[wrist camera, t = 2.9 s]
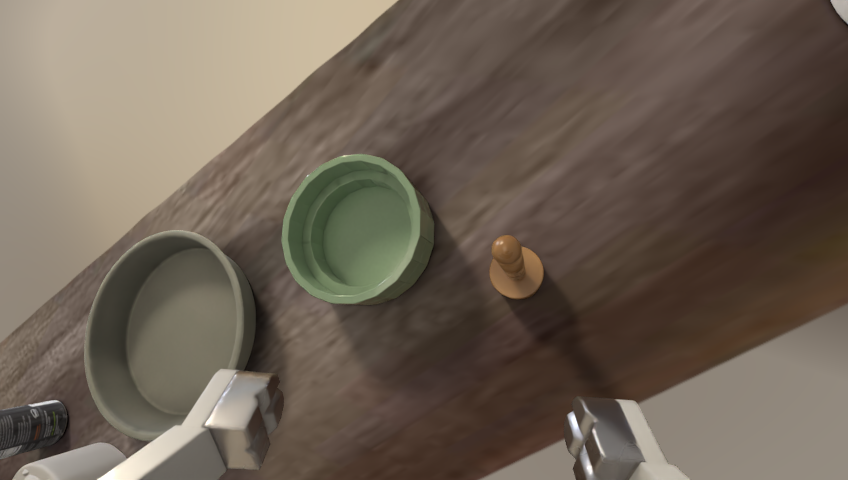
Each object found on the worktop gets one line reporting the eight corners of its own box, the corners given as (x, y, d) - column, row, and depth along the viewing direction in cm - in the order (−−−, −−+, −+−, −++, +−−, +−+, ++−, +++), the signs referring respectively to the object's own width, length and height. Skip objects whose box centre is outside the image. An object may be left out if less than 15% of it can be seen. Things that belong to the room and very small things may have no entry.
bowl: (362, 152, 45) (338, 129, 40) (463, 218, 40) (451, 203, 34) (291, 254, 46) (256, 246, 40) (381, 333, 40) (356, 337, 35)
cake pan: (113, 433, 48) (72, 445, 44) (126, 252, 54) (92, 246, 50) (270, 426, 42) (240, 439, 38) (267, 221, 48) (241, 213, 43)
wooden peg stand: (510, 241, 38) (494, 191, 22) (553, 269, 36) (568, 235, 21) (483, 280, 38) (447, 257, 22) (524, 309, 37) (516, 307, 21)
